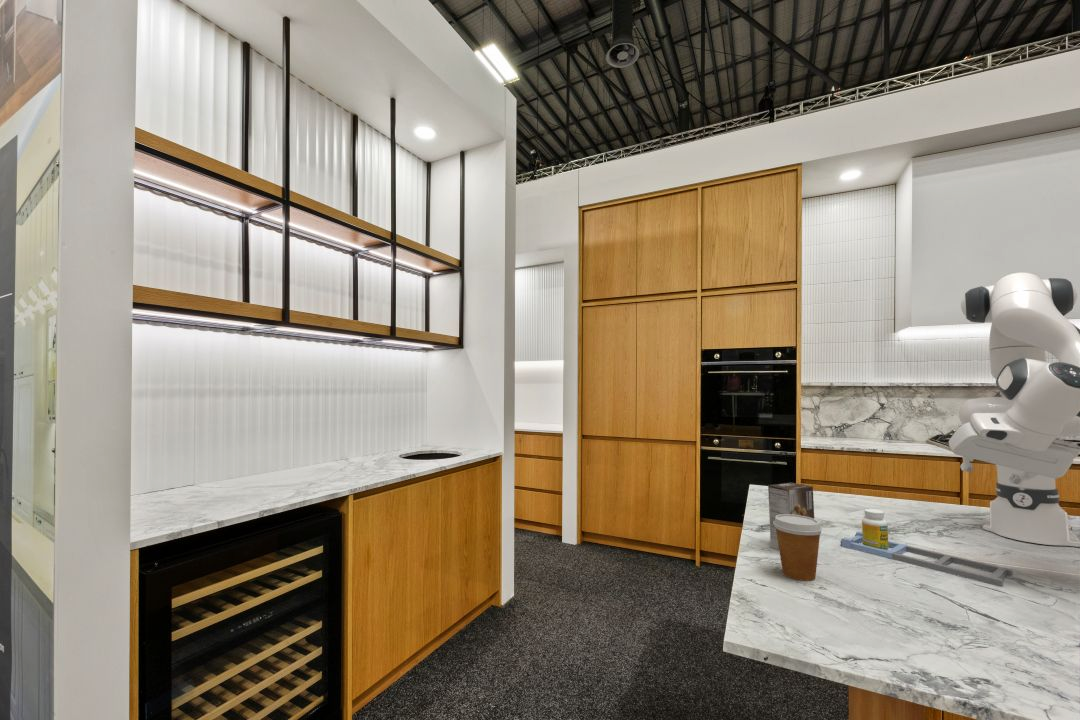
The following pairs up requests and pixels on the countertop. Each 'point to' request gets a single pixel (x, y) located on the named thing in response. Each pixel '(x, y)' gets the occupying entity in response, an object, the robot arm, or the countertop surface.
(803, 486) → the coffee box
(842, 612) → the countertop surface
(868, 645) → the countertop surface
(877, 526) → the supplement bottle
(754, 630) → the countertop surface
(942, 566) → the blue ladder rack
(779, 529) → the disposable coffee cup
